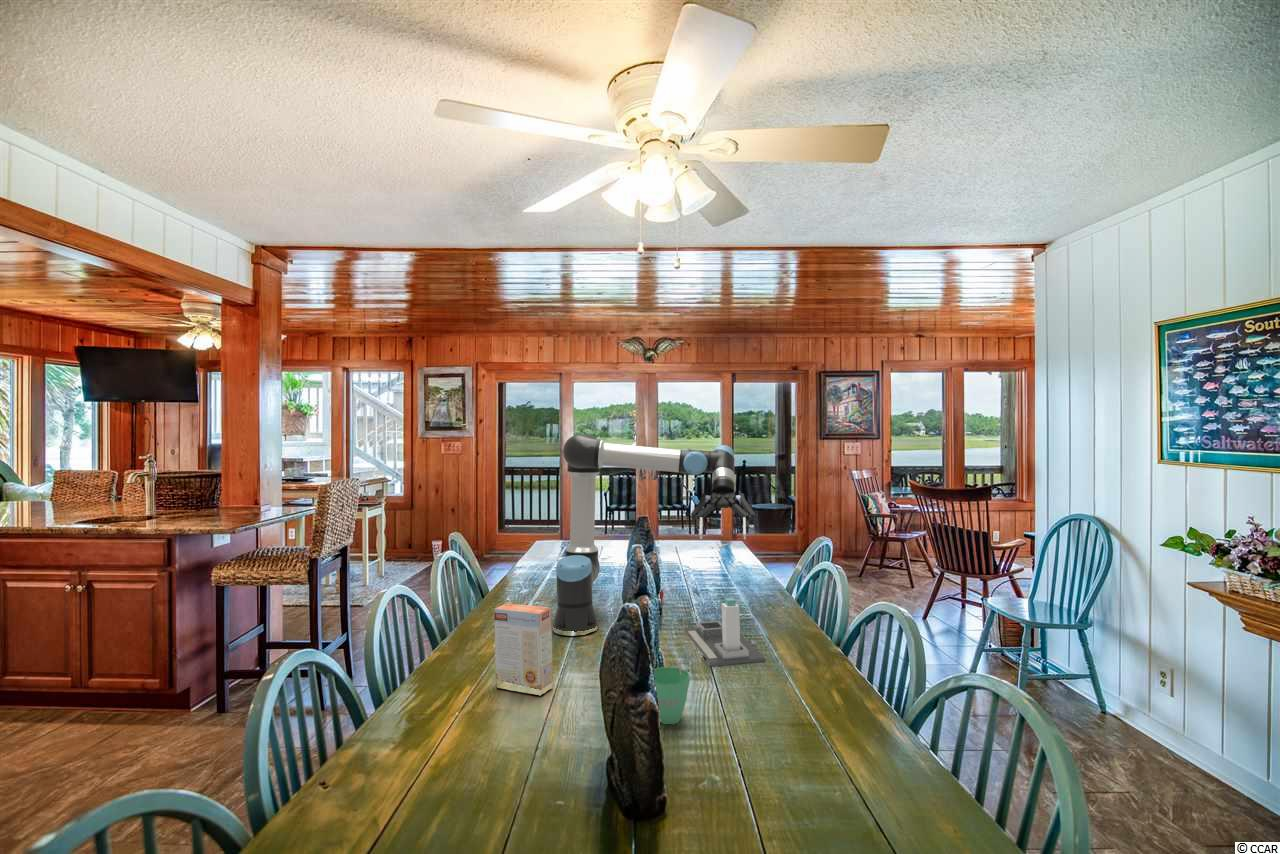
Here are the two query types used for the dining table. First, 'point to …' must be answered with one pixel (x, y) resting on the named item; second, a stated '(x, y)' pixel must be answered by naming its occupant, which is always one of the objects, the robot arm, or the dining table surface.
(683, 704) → the green cup
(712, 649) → the panel
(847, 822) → the dining table surface
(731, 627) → the plug
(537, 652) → the cracker box
